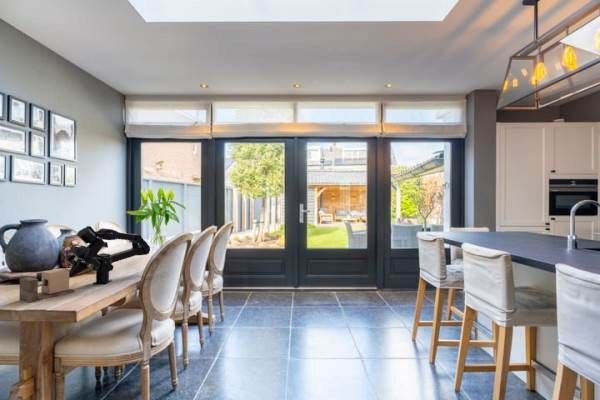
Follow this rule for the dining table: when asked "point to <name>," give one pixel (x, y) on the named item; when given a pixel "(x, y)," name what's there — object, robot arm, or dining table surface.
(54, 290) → the pink box
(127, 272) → the dining table surface
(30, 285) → the stop block
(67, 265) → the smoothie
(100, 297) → the dining table surface
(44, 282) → the bolt
